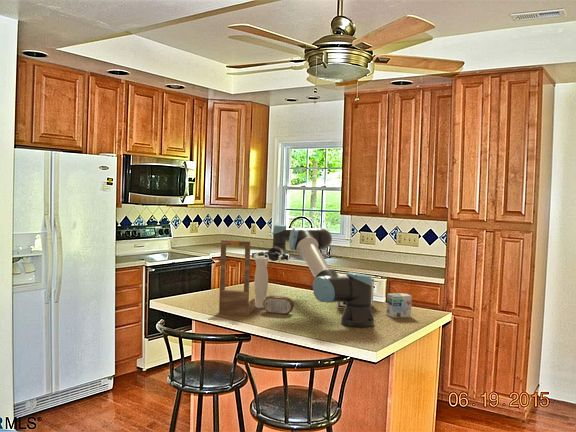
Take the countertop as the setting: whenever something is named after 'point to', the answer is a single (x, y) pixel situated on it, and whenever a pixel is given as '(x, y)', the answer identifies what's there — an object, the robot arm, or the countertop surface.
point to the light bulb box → (399, 305)
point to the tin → (278, 305)
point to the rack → (235, 299)
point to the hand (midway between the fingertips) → (266, 258)
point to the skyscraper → (261, 280)
